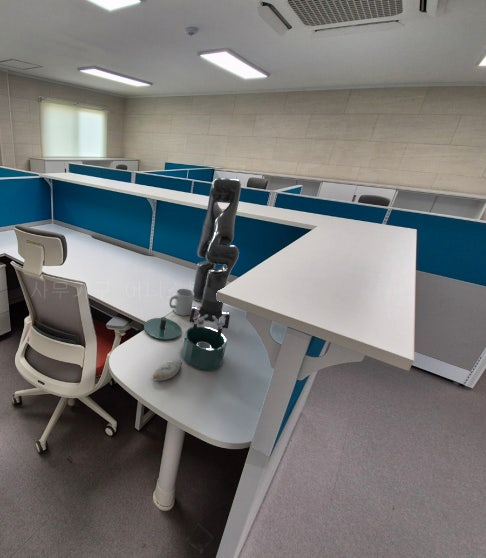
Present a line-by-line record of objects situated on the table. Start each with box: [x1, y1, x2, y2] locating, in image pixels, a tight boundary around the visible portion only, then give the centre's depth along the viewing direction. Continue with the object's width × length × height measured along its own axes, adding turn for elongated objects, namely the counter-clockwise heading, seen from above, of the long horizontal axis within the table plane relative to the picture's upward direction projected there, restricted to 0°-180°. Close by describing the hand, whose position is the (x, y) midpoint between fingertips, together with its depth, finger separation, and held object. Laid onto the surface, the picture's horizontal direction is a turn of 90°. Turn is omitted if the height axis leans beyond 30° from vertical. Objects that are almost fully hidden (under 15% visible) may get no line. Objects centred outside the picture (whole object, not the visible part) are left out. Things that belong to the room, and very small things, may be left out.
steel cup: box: [196, 342, 211, 349], centre depth 120 cm, size 6×6×5 cm
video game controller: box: [193, 305, 205, 325], centre depth 147 cm, size 10×5×7 cm, turn 141°
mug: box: [168, 288, 194, 317], centre depth 151 cm, size 12×8×11 cm
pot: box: [181, 325, 228, 371], centre depth 119 cm, size 16×16×10 cm
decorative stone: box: [152, 359, 183, 382], centre depth 111 cm, size 6×16×3 cm, turn 133°
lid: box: [143, 316, 182, 341], centre depth 137 cm, size 17×17×6 cm
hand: (206, 333), depth 117 cm, fingers open, 8 cm apart
